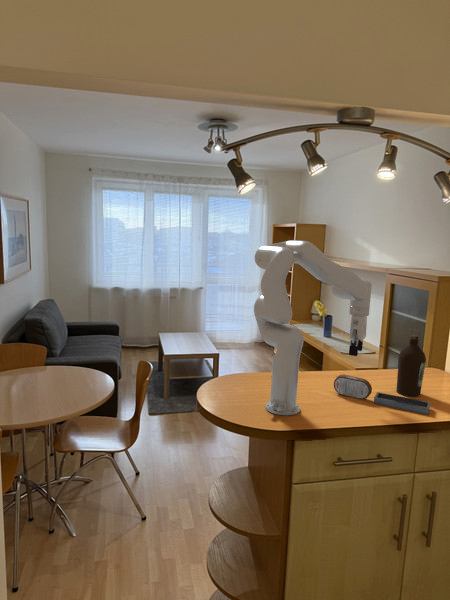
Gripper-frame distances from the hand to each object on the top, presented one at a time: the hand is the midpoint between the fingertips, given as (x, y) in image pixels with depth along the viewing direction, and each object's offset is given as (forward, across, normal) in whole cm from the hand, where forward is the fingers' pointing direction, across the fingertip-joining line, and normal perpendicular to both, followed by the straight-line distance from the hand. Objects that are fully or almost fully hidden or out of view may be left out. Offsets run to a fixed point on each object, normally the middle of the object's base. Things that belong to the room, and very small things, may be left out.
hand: (355, 352), depth 172 cm
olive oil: (+19, +19, -20) cm, 33 cm away
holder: (+18, +1, -19) cm, 26 cm away
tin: (+19, 0, 0) cm, 19 cm away
